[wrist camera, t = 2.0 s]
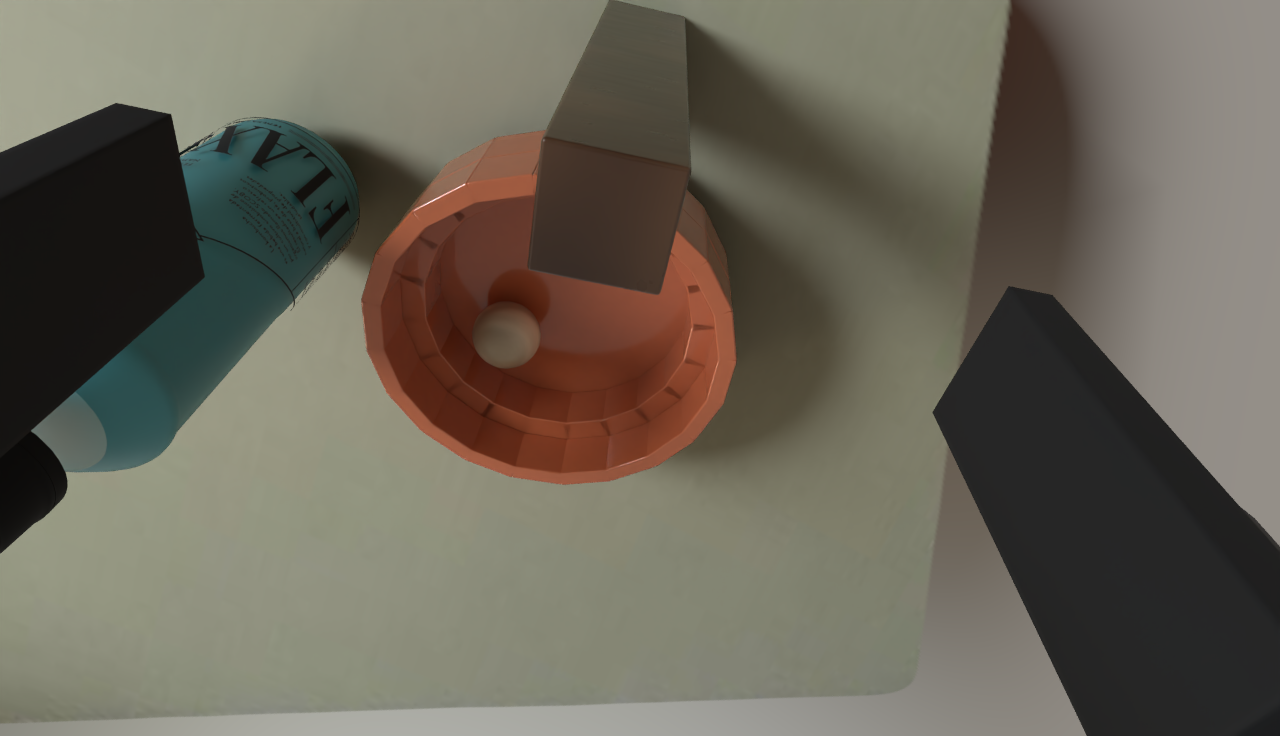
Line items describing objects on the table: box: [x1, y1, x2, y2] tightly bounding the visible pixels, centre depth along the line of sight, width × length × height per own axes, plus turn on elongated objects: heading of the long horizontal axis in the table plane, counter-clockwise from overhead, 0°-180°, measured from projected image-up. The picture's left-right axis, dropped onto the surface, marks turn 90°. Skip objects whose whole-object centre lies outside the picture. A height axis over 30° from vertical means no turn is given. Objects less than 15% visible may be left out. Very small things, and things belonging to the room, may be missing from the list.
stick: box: [527, 0, 691, 295], centre depth 21 cm, size 3×3×16 cm
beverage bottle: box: [0, 117, 360, 553], centre depth 23 cm, size 6×7×20 cm
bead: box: [472, 301, 541, 369], centre depth 32 cm, size 3×3×3 cm
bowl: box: [361, 130, 737, 485], centre depth 31 cm, size 16×16×6 cm
